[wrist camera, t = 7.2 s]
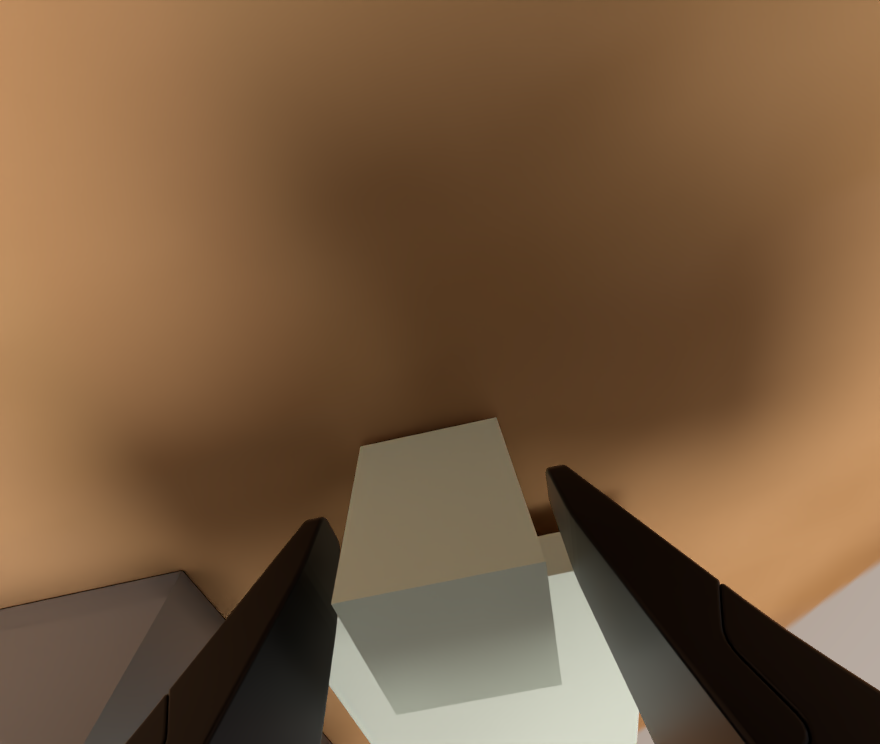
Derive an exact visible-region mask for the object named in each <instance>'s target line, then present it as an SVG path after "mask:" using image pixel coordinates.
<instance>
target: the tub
mask: <svg viewBox="0 0 880 744" xmlns="http://www.w3.org/2000/svg"><path fill="white" fill-rule="evenodd" d="M224 621H225V620H224V618H223V617H222V616H221V615H220V614H219V613H218V612H217V610H216V609H215V608H214V607H213V606H212V605H211V603H210V602H209V601H208V600H207V599H206V598H205V596H204V595H203V594H202V593H201V592H200V591H199V590H198V588H197V587H196V586H195V585H194V584H193V583H192V581H191V580H190V579H189V578H188V577H187V576H186V574H185V573H184V572H183V571H180V572H175V573H170V574H165V575H161V576H156V577H151V578H147V579H142V580H137V581H133V582H128V583H123V584H119V585H114V586H109V587H105V588H100V589H95V590H91V591H86V592H81V593H76V594H72V595H67V596H62V597H58V598H53V599H48V600H44V601H39V602H34V603H30V604H25V605H20V606H16V607H11V608H6V609H2V610H0V744H125V743H126V742H127V741H128V739H129V738H130V737H131V736H132V735H133V733H134V732H135V731H136V730H137V729H138V727H139V726H140V725H141V724H142V723H143V721H144V720H145V719H146V718H147V716H148V715H149V714H150V713H151V711H152V710H153V709H154V708H155V707H156V705H157V704H158V703H159V702H160V700H161V699H162V698H163V697H164V695H166V694H169V690H170V688H171V687H172V686H173V684H174V683H175V682H176V681H177V679H178V678H179V677H180V676H181V674H182V673H183V672H184V671H185V670H186V668H187V667H188V666H189V665H190V663H191V662H192V661H193V660H194V658H195V657H196V656H197V655H198V653H199V652H200V651H201V650H202V648H203V647H204V646H205V645H206V643H207V642H208V641H209V640H210V638H211V637H212V636H213V635H214V634H215V632H216V631H217V630H218V629H219V627H220V626H221V625H222V624H223V622H224ZM321 744H331V742H330V741H329V740H328V739H327V738H326V737H325V735H324V734H323V733H322V737H321Z"/></svg>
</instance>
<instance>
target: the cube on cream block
mask: <svg viewBox="0 0 880 744" xmlns="http://www.w3.org/2000/svg"><path fill="white" fill-rule="evenodd" d="M331 605H332V607H333V608H334V610H335V612H336V613H337V615H338V616H337V628H336V637H335V644H334V651H333V658H332V666H331V673H330V680H329V686H330V687H331V689H332V690H333V691H334V693H335V694H336V696H337V697H338V698H339V700H340V701H341V703H342V704H343V705H344V707H345V708H346V710H347V711H348V712H349V714H350V715H351V717H352V718H353V720H354V721H355V722H356V724H357V725H358V727H359V728H360V729H361V731H362V732H363V734H364V735H365V736H366V738H367V739H368V741H369V742H370V743H371V744H637V733H638V718H639V710H638V708H637V706H636V704H635V701H634V699H633V697H632V695H631V693H630V691H629V689H628V687H627V684H626V682H625V680H624V678H623V676H622V674H621V672H620V670H619V668H618V665H617V663H616V661H615V659H614V657H613V655H612V653H611V651H610V649H609V646H608V644H607V642H606V640H605V638H604V636H603V634H602V632H601V629H600V627H599V625H598V623H597V621H596V619H595V617H594V615H593V613H592V610H591V608H590V606H589V604H588V602H587V600H586V598H585V596H584V593H583V591H582V589H581V587H580V585H579V583H578V580H577V578H576V576H575V573H574V571H573V568H572V565H571V563H570V560H569V557H568V554H567V551H566V548H565V545H564V542H563V539H562V536H561V534H560V532H557V533H552V534H547V535H542V536H537V534H536V531H535V528H534V525H533V522H532V519H531V516H530V514H529V511H528V508H527V505H526V502H525V499H524V496H523V493H522V490H521V487H520V484H519V482H518V479H517V476H516V473H515V470H514V467H513V464H512V461H511V458H510V455H509V452H508V450H507V447H506V444H505V441H504V438H503V435H502V432H501V429H500V426H499V423H498V420H497V418H496V417H495V418H491V419H486V420H481V421H477V422H472V423H467V424H463V425H458V426H453V427H449V428H444V429H439V430H435V431H430V432H426V433H421V434H416V435H412V436H407V437H402V438H398V439H393V440H388V441H384V442H379V443H374V444H370V445H365V446H360V451H359V457H358V462H357V467H356V473H355V478H354V483H353V489H352V494H351V500H350V505H349V510H348V516H347V521H346V526H345V532H344V537H343V543H342V548H341V553H340V559H339V564H338V569H337V575H336V580H335V585H334V591H333V596H332V602H331Z"/></svg>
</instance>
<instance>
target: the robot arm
mask: <svg viewBox="0 0 880 744" xmlns="http://www.w3.org/2000/svg"><path fill="white" fill-rule="evenodd" d="M546 480H547V488H548V496H549V501H550V504H551V507H552V510H553V513H554V516H555V519H556V522H557V525H558V528H559V531H560V534H561V536H562V539H563V542H564V545H565V548H566V551H567V554H568V557H569V560H570V563H571V565H572V568H573V571H574V573H575V576H576V578H577V580H578V583H579V585H580V587H581V589H582V591H583V593H584V596H585V598H586V600H587V602H588V604H589V606H590V608H591V610H592V613H593V615H594V617H595V619H596V621H597V623H598V625H599V627H600V629H601V632H602V634H603V636H604V638H605V640H606V642H607V644H608V646H609V649H610V651H611V653H612V655H613V657H614V659H615V661H616V663H617V665H618V668H619V670H620V672H621V674H622V676H623V678H624V680H625V682H626V684H627V687H628V689H629V691H630V693H631V695H632V697H633V699H634V701H635V704H636V706H637V708H638V710H639V712H640V714H641V716H642V718H643V720H644V723H645V725H646V727H647V729H648V731H649V733H650V735H651V737H652V740H653V742H654V743H655V744H880V691H879V690H878V689H876V688H875V687H873V686H871V685H870V684H868V683H867V682H865V681H864V680H862V679H861V678H859V677H858V676H856V675H854V674H853V673H851V672H850V671H848V670H847V669H845V668H844V667H842V666H841V665H839V664H837V663H836V662H834V661H833V660H831V659H830V658H828V657H827V656H825V655H824V654H822V653H821V652H819V651H818V650H816V649H815V648H813V647H812V646H810V645H809V644H807V643H806V642H804V641H803V640H801V639H800V638H798V637H797V636H795V635H794V634H792V633H791V632H789V631H788V630H786V629H785V628H784V627H782V626H781V625H779V624H778V623H777V622H775V621H774V620H772V619H771V618H770V617H768V616H767V615H766V614H764V613H763V612H761V611H760V610H759V609H757V608H756V607H754V606H753V605H752V604H750V603H749V602H747V601H746V600H745V599H743V598H742V597H741V596H739V595H738V594H737V593H735V592H734V591H733V590H732V589H730V588H729V587H728V586H726V585H725V584H721V585H720V582H719V580H718V579H717V578H715V577H714V576H713V575H711V574H710V573H709V572H707V571H706V570H705V569H703V568H702V567H701V566H699V565H698V564H697V563H695V562H694V561H693V560H691V559H690V558H689V557H687V556H686V555H685V554H683V553H682V552H681V551H679V550H678V549H677V548H675V547H674V546H673V545H671V544H670V543H669V542H667V541H666V540H665V539H663V538H662V537H661V536H659V535H658V534H657V533H655V532H654V531H653V530H651V529H650V528H649V527H647V526H646V525H645V524H643V523H642V522H641V521H639V520H638V519H637V518H635V517H634V516H633V515H631V514H630V513H629V512H627V511H626V510H625V509H623V508H622V507H621V506H619V505H618V504H617V503H615V502H614V501H613V500H611V499H610V498H609V497H607V496H606V495H605V494H603V493H602V492H601V491H599V490H598V489H597V488H595V487H594V486H593V485H591V484H590V483H589V482H587V481H586V480H585V479H583V478H582V477H581V476H579V475H578V474H577V473H575V472H574V471H573V470H571V469H570V468H569V467H567V466H566V465H558V466H554V467H549V468H547V469H546ZM339 559H340V546H339V541H338V539H337V537H336V535H335V533H334V531H333V529H332V528H331V526H330V524H329V522H328V520H327V519H326V518H325V517H318V518H314V519H309V520H307V521H305V522H304V523H303V524H302V526H301V527H300V528H299V529H298V531H297V532H296V533H295V534H294V536H293V537H292V538H291V539H290V540H289V542H288V543H287V544H286V545H285V547H284V548H283V549H282V550H281V552H280V553H279V554H278V555H277V557H276V558H275V559H274V560H273V562H272V563H271V564H270V565H269V567H268V568H267V569H266V570H265V571H264V573H263V574H262V575H261V576H260V578H259V579H258V580H257V581H256V583H255V584H254V585H253V586H252V588H251V589H250V590H249V591H248V593H247V594H246V595H245V596H244V598H243V599H242V600H241V601H240V603H239V604H238V605H237V606H236V607H235V609H234V610H233V611H232V612H231V614H230V615H229V616H228V617H227V619H226V620H225V621H224V622H223V624H222V625H221V626H220V627H219V629H218V630H217V631H216V632H215V634H214V635H213V636H212V637H211V638H210V640H209V641H208V642H207V643H206V645H205V646H204V647H203V648H202V650H201V651H200V652H199V653H198V655H197V656H196V657H195V658H194V660H193V661H192V662H191V663H190V665H189V666H188V667H187V668H186V670H185V671H184V672H183V673H182V674H181V676H180V677H179V678H178V679H177V681H176V682H175V683H174V684H173V686H172V687H171V688H170V690H169V694H166V695H164V697H163V698H162V699H161V700H160V702H159V703H158V704H157V705H156V707H155V708H154V709H153V710H152V711H151V713H150V714H149V715H148V716H147V718H146V719H145V720H144V721H143V723H142V724H141V725H140V726H139V727H138V729H137V730H136V731H135V732H134V733H133V735H132V736H131V737H130V738H129V739H128V741H127V742H126V743H125V744H321V737H322V730H323V723H324V716H325V709H326V702H327V694H328V687H329V680H330V673H331V666H332V658H333V651H334V644H335V637H336V628H337V616H338V615H337V613H336V612H335V610H334V608H333V607H332V605H331V602H332V596H333V591H334V585H335V580H336V575H337V569H338V564H339Z"/></svg>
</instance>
